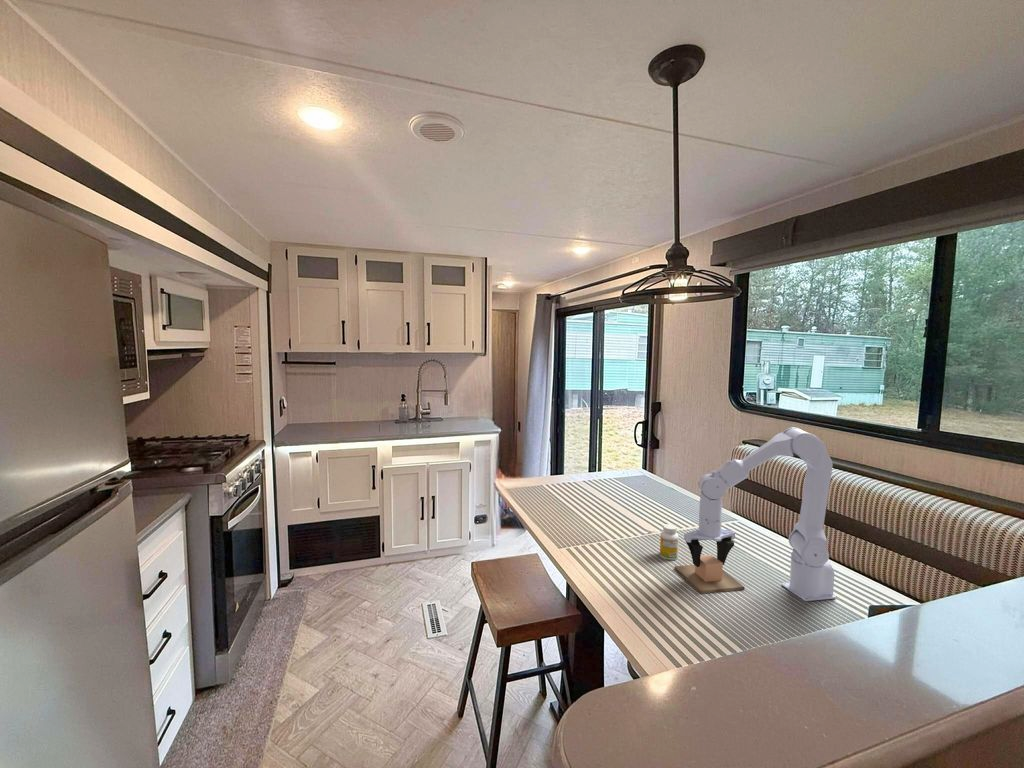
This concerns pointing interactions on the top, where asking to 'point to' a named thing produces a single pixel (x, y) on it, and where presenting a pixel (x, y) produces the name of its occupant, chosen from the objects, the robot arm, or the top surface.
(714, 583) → the walnut board
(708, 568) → the terracotta block
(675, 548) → the supplement bottle
